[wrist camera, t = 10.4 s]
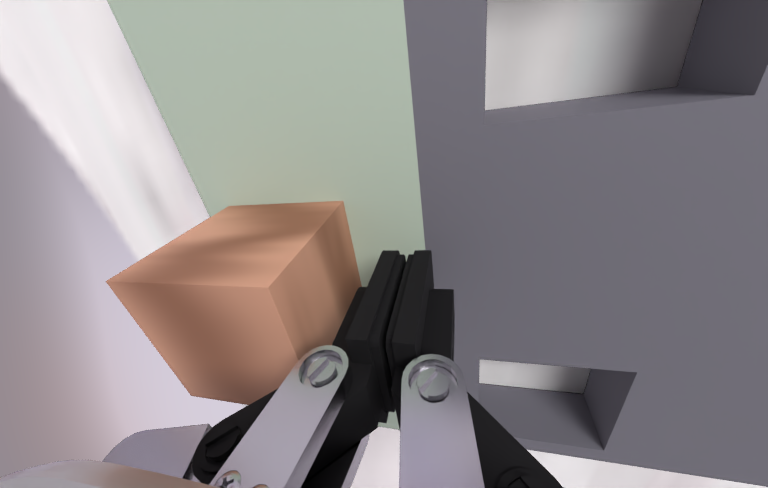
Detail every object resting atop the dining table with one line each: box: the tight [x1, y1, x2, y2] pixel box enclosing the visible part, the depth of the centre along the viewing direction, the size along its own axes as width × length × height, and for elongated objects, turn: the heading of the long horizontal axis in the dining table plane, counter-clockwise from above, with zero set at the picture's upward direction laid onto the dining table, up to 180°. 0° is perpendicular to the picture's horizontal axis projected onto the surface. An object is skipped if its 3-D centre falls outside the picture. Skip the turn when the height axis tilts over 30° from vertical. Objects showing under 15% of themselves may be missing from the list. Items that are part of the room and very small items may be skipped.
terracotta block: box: [106, 201, 362, 405], centre depth 11 cm, size 5×5×5 cm
